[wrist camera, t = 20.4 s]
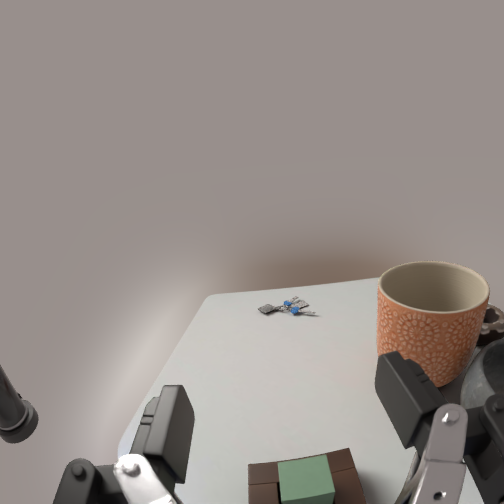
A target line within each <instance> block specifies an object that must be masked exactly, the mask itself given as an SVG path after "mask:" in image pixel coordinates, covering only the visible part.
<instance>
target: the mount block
mask: <svg viewBox="0 0 504 504" xmlns="http://www.w3.org/2000/svg"><path fill="white" fill-rule="evenodd" d="M321 455H326V456H327V460H328V464H329V468H330V472H331V476H332V480H333V484H334V488H335V495H334V499H333V503H332V504H367V503H366V500H365V496H364V493H363V490H362V487H361V484H360V480H359V477H358V474H357V471H356V468H355V465H354V462H353V458H352V455H351V452H350V449H349V448H346V449H342V450H338V451H333V452H329V453H325V454H320V455H315V456H309V457H304V458H298V459H292V460H285V461H277V462H268V463H258V464H248V485H249V486H248V494H249V504H281V497H280V496H281V491H280V481H279V471H278V462H286V461H293V460H299V459H305V458H311V457H316V456H321Z"/></svg>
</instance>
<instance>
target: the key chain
mask: <svg viewBox="0 0 504 504" xmlns="http://www.w3.org/2000/svg"><path fill="white" fill-rule="evenodd" d="M297 298H298V296H295V297H294V298H292V299H291V300H289V301H285V302H284V305H282V306H278V307H275V306H272V305H270V304H267V305H265V306H263V307H260V308H258V310H260V311H262V312H263V313H268V312H270V311H272V310H282V311H283V310H287V309H288V306H289V305H291V304H292V302H293V301H295V299H297ZM307 305H308V304H307V303H306V302H305V301H303V302H299V303H296V304H293V305H291V307H292V309H291V313H293V314H295V313H297V312H304V313H313V314H315V313H316V312H311V311H305V310H299V308H301V307H304V306H307ZM283 306H284V308H285V307H287V308H286V309H281V307H283ZM289 307H290V306H289Z"/></svg>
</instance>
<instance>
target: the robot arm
mask: <svg viewBox="0 0 504 504" xmlns="http://www.w3.org/2000/svg"><path fill="white" fill-rule="evenodd" d="M375 389H376V393H377V395H378V397H379V399H380V401H381V403H382V405H383V406H384V408H385V410H386V412H387V414H388V416H389V418H390V420H391V422H392V424H393V426H394V428H395V430H396V432H397V434H398V436H399V438H400V440H401V442H402V444H403V446H404V448H405V449H407V448H410V447H412V446H415V448H416V450H417V451H416V452H415V455H414V458H413V461H412V464H411V467H410V470H409V473H408V476H407V478H406V481H405V484H404V486H403V489H402V491H401V493H400V495H399V497H398V498H397V500H396V502H395V504H458V502H459V498H460V494H461V490H462V486H463V482H464V477H465V473H466V465H467V467H468V469H469V471H470V473H471V475H472V477H473V479H474V481H475V484H476V486H477V488H478V490H479V492H480V495H481V497H482V499H483V502H484V504H504V395H503V394H494V395H491V396H490V397H488V398H487V400H486V401H485V403H484V405H483V406H479V407H475V408H470V409H464V408H463V407H462V406H460V405H458V404H452V403H450V404H449V403H448V402H447V400H446V399H445V398H444V396H443V395H442V394H441V392H440V391H439V390H438V388H437V387H436V386H435V384H434V383H433V382H432V380H430V378H429V377H428V375H427V374H425V371H424V370H423V369H422V368H421V366H420V365H419V364H418V363H416V362H414V361H413V360H411V359H406V360H404V358H403V357H402V356H401V354H400V353H399V352H398V351H392V352H389V353H386V354H382V355H380V356H379V358H378V364H377V371H376V377H375ZM21 398H22V397H21V396H20V394H18V393H17V392H16V390H15V389H14V387H13V386H12V384H11V382H10V381H9V379H8V377H7V376H6V374H5V372H4V370H3V369H2V367H1V365H0V429H1V430H2V431H5V432H11V431H14V430H16V429H18V428H19V427H21V426H22V425H23V424H24V422H25V421H26V419H27V417H28V407H27V406H26V405H25V403H24V402H23V401H22V399H21ZM194 420H195V418H194V411H193V408H192V405H191V403H190V401H189V398H188V396H187V393H186V391H185V389H184V387H183V385H164V386H163V388H162V391H161V394H160V397H153V398H152V400H151V401H150V402H149V403H148V404H147V405H146V407H145V410H144V413H143V417H142V418H141V421H140V425H139V427H138V430H137V433H136V436H135V438H134V441H133V444H132V447H131V450H130V453H129V454H127V455H124V456H122V457H121V458H119V459H118V461H117V462H116V463H115V464H113V465H103V466H94V465H93V464H92V463H91V462H90V461H88V460H86V459H75V460H73V461H71V462H70V463H69V464H68V465H67V467H66V469H65V471H64V473H63V476H62V479H61V482H60V484H59V487H58V490H57V493H56V496H55V499H54V501H53V504H183V502H182V501H181V500H180V498H179V497H178V495H177V494H176V493H175V491H174V488H175V483H180V484H185V478H186V471H187V464H188V458H189V452H190V446H191V439H192V433H193V427H194ZM494 443H495V444H494ZM495 445H496V446H495ZM497 448H498V449H497ZM498 450H499V451H498ZM499 452H500V453H501V454H500V453H499ZM501 455H502V456H501ZM462 458H463V459H464V461H465V462H462Z"/></svg>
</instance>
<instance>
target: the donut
mask: <svg viewBox="0 0 504 504" xmlns="http://www.w3.org/2000/svg"><path fill="white" fill-rule="evenodd" d="M503 336H504V313H503V312H502V311H501V310H500V309H498V308H497V307H495V306H493V305H490V304H488V305H487V309H486V313H485V317H484V320H483V324H482V327H481V331H480V334H479V337H478V340H477V343H476V344H478V345H488V344H490V343H491V342H493V341H496V340H499V339H502V338H503Z"/></svg>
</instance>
